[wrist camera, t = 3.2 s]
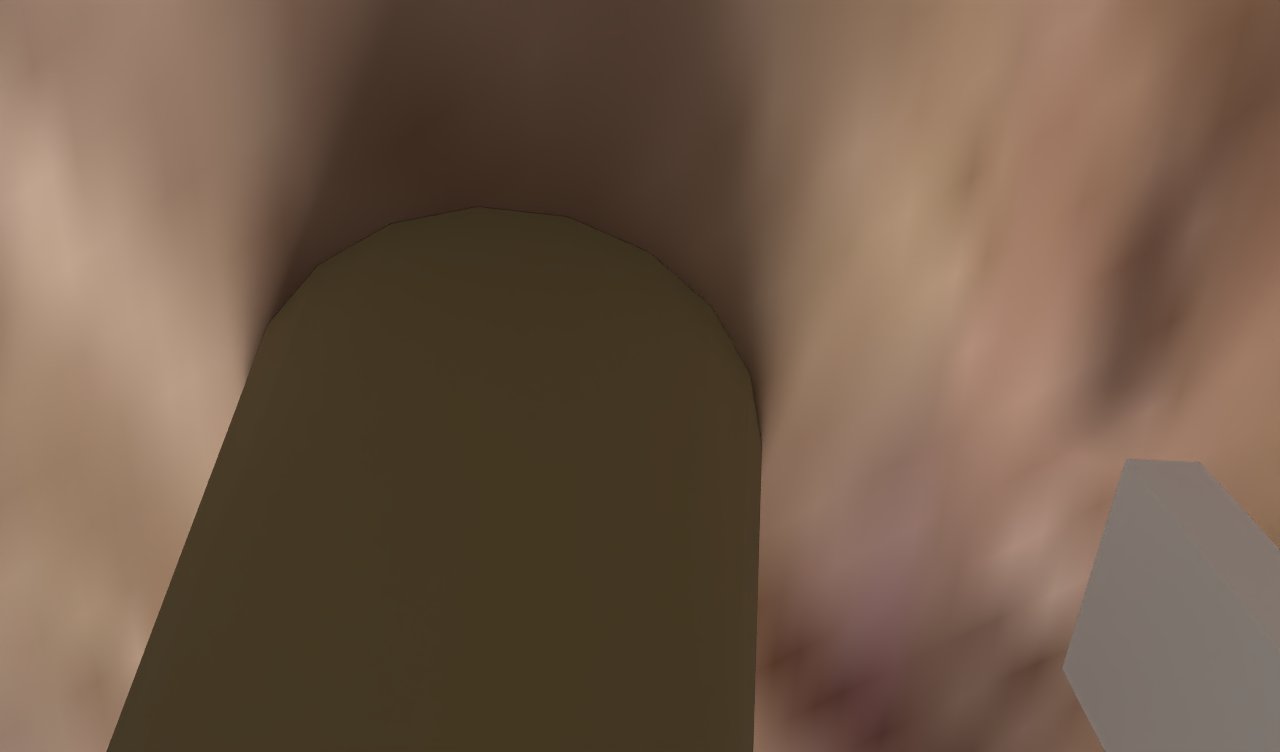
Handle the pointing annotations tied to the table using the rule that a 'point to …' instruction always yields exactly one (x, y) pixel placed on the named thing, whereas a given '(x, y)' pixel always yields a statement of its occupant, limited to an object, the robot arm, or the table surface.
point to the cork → (472, 512)
